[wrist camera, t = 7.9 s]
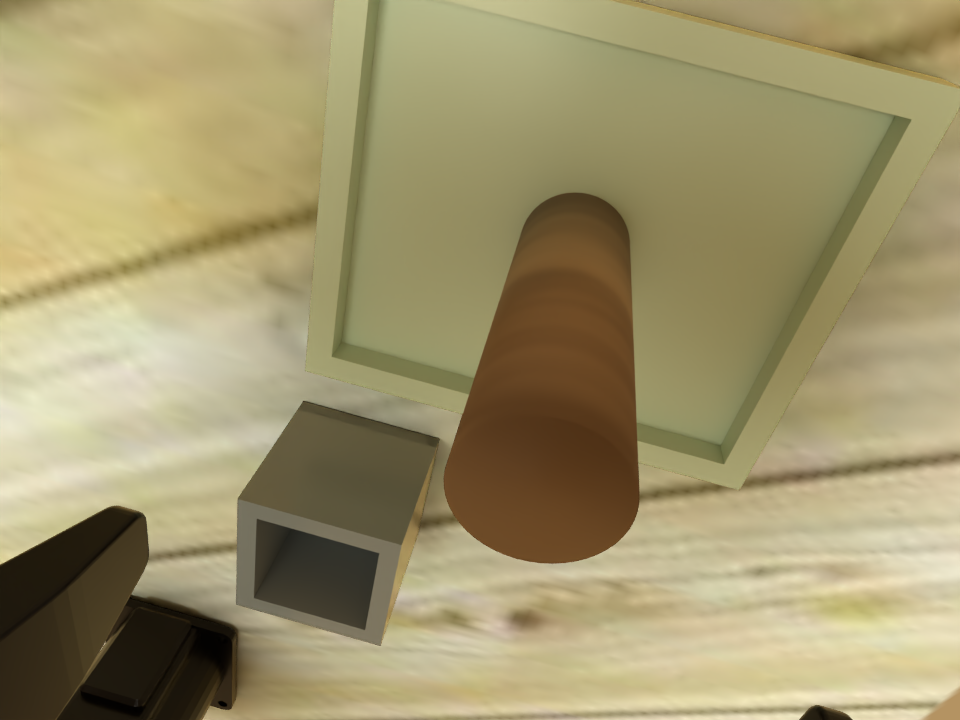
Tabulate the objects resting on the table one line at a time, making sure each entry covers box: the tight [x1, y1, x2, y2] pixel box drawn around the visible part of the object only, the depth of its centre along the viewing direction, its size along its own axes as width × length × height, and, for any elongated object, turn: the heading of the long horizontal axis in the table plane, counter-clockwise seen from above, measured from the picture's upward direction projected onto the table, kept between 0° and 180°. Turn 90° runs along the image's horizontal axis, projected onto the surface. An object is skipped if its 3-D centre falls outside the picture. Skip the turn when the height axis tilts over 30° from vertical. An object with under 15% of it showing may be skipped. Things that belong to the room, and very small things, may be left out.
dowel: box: [444, 192, 639, 563], centre depth 15 cm, size 3×3×10 cm
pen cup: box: [236, 401, 439, 646], centre depth 24 cm, size 5×5×5 cm
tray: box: [305, 0, 960, 490], centre depth 19 cm, size 12×14×2 cm
